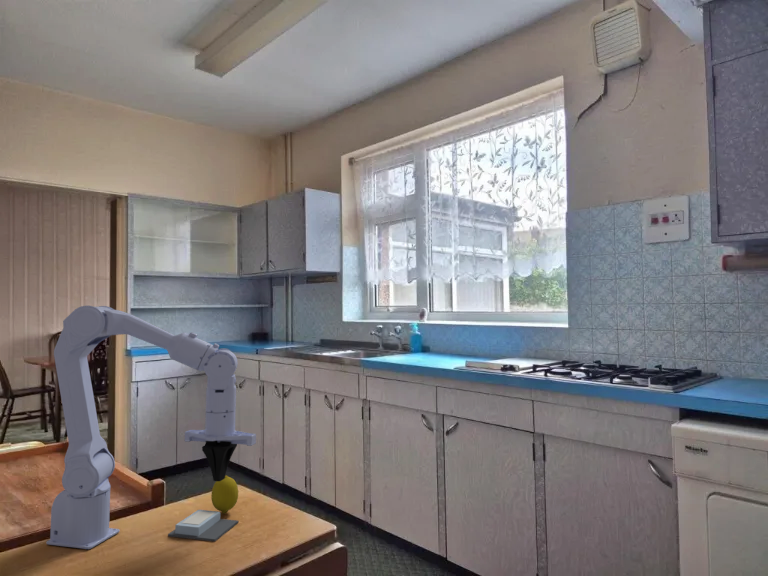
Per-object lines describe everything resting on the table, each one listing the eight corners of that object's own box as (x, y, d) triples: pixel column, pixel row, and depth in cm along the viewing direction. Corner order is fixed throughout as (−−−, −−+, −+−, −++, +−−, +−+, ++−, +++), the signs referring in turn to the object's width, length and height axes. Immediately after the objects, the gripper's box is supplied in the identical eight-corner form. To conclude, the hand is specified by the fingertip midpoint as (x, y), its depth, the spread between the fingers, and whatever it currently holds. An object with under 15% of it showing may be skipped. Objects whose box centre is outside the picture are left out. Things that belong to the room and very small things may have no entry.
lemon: (233, 518, 108) (234, 479, 109) (207, 518, 108) (208, 479, 109) (241, 508, 114) (241, 471, 114) (215, 508, 114) (216, 471, 114)
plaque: (198, 535, 99) (175, 533, 100) (220, 519, 107) (198, 517, 108) (198, 526, 99) (175, 524, 100) (220, 511, 107) (198, 509, 108)
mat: (167, 536, 99) (167, 534, 99) (194, 518, 108) (194, 516, 108) (215, 541, 97) (215, 539, 97) (238, 522, 106) (238, 520, 106)
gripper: (176, 412, 101) (174, 483, 100) (244, 416, 98) (243, 489, 97) (196, 406, 108) (194, 472, 107) (261, 409, 105) (259, 477, 104)
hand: (219, 479), depth 103 cm, fingers closed
